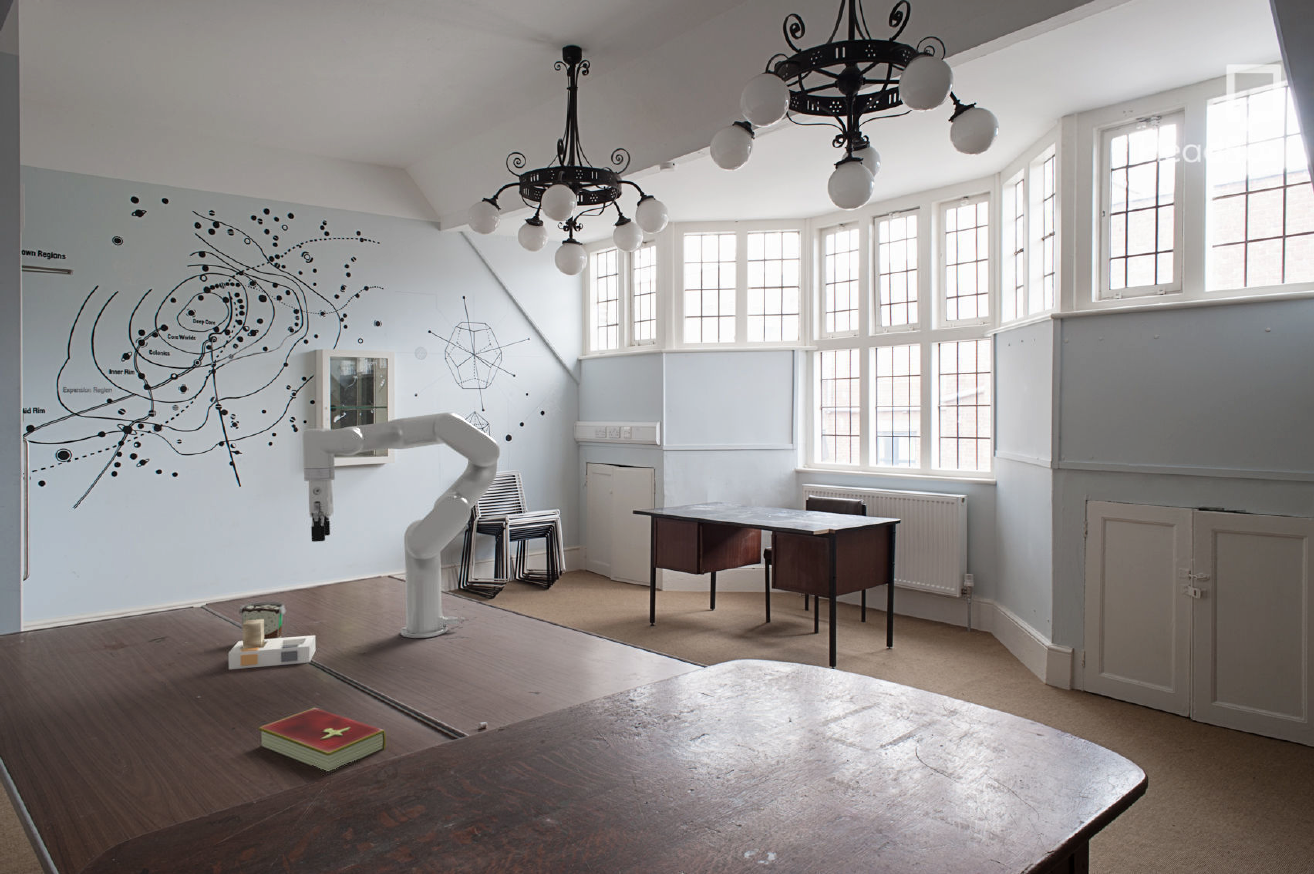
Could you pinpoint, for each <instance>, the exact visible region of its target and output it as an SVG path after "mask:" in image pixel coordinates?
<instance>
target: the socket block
mask: <svg viewBox="0 0 1314 874" xmlns="http://www.w3.org/2000/svg"><path fill="white" fill-rule="evenodd" d="M315 652H316V635H302V636H291V637H290V636H289V637H288V636H287V637H281V638H274V639H264V647H263V648H259V647H258V648H246V649H243V640H238V641H237V643H236V644H235V645H234V646H232V648H231V650H230V651H229V652H228V654H227V655H228V670H239V669H248V668H250V669H251V668H260V667H261V668H262V667H271V666H281V665H282V666H283V665H294V664H305V663H306V664H307V663H311V660H312V658H313V656H314V654H315Z"/></svg>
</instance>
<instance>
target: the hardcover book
mask: <svg viewBox="0 0 1314 874" xmlns="http://www.w3.org/2000/svg"><path fill="white" fill-rule="evenodd" d="M257 730H258V731H260V732H261V747H263V748H266V749H268V750H271V751H273V752H276V753H279V754H281V755H284V756H286V757H289V758H291V759H293V760H297V761H299V762H301V763H304V764H307V765H309V766H312V765H314V766H317V767H318V768H317V767H316V768H317V769H319V768H320V769H319V770H322V769H324V770H326V771H325V772H327V771H330V770H332V769H335V770H337V769H338V768H337V767H339V766H341V765H344V764H346V763H348V762H351V763H353V762H355V761H358V760H360V759H362V758H364V757H366V756H369V755H371V754H374V753H375V752H377V751H380V750H382V749H383V750H385V749H386V748H387V736H386V735H387V734H386V731H385V729H382V728H379V727H376V726H373V725H369V724H366V723H365V722H364V723H363V722H360V721H358V720H354V719H351V718H348V717H345V716H342V715H338V714H335V713H333V712H329V711H327V710H324V709H320V708H318V707H317V708H316V707H312V708H310V709H307V710H304V711H301V712H299V713H296V714H292V715H290V716H287V717H284V718H281V719H278V720H276V721H273V722H270V723H267V724H264V725H262V726H259V727H258V728H257ZM357 759H358V760H357ZM354 760H355V761H354ZM352 761H353V762H352ZM346 765H347V764H346ZM314 766H313V767H314ZM344 766H345V765H344ZM336 768H337V769H336ZM324 770H323V771H324Z"/></svg>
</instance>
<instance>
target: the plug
mask: <svg viewBox="0 0 1314 874" xmlns="http://www.w3.org/2000/svg"><path fill="white" fill-rule="evenodd" d="M242 641H243V649H246V648H258V647H259V648H263V647H264V619H257V620H246V621H245V622H244V623H243V626H242Z"/></svg>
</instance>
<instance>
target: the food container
mask: <svg viewBox="0 0 1314 874" xmlns="http://www.w3.org/2000/svg"><path fill="white" fill-rule="evenodd" d="M286 612H287V610H286V608H285V605H284V603H283V602H281V601H280V602H279V601H258V602H252V603H247V604H243V605H240V607H239V610H238V615H239V614H240V616H241V624H242V625H241V626H242V627H243V623H244V622H245V621H246V620H257V619H264V639H274V638H282V632H283V631H282V628H283V617H284V614H285V613H286Z"/></svg>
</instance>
